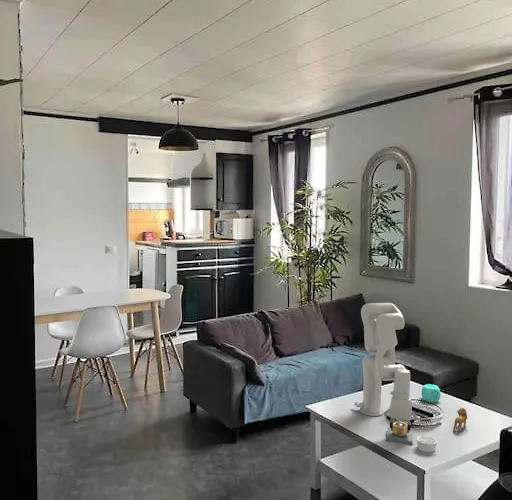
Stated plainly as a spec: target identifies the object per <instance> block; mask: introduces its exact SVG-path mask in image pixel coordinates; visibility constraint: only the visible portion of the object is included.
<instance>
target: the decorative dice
mask: <svg viewBox="0 0 512 500" xmlns="http://www.w3.org/2000/svg"><path fill="white" fill-rule="evenodd" d="M441 396H442V395H441V389H440V388H439V386H438V385H435V384H430V383H428V384H424V385H422V388H421V398H422V399H423V401H425V402H427V401H428V402H427V403H437V402H439V401H440V399H441Z"/></svg>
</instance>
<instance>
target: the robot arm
mask: <svg viewBox="0 0 512 500" xmlns="http://www.w3.org/2000/svg"><path fill="white" fill-rule="evenodd" d="M360 317H361V320H362V323H363V331H364V332H363V333H364V334H363V336H364V337H363V338H364V348H365V350H366V351H367V352H369V353H373V354H366V355H365V356H363V358H362V361H361V362H362V364H361V365H362V370H363V371H362V372H363V384H362V385H363V390H362V392H363V394H362V401H361V402H357V401H355V402H354V406H355V407H356V408H359V412H360V413H361V414H363V415H364V416H369V417H379V416H382V415H383V416H385V418H386V419H387V420H388V423H389V428H391V431H392V428H393V422H394V419H395V420H400V421H406V422H407V424H408V425H407V427H408V431H407V433H409V431H411V426H412V424H414V423H415V422H416V421H417V420H418V418H419V416H418V415H417V414H415V412H414V411H412V409H413V408H412V406H413V405H412V399H411V398H412V397H410V395H411V393H410V391H411V371H410V370H408V369H407V368H406V367H405V366H404V365H403V364H399V363H397V364H396V354H395V352H396V351H395V350H396V349H395V347H396V346H397V345H398V338H397V332H396V330H402V329H404V328H405V324H406V323H405V322H406V321H405V318H404V316H403V314H402V312H401V311H400V309H398V307H396V305H395V304H393V303H392V302H371V303H365V304H363V306H362V307H361V309H360ZM374 353H376V354H374ZM382 381H385V382H387V381H393V390H391V391H390V392H389V393H390V395H392V396H391V398H390V405H389V408H388V409H386V410H385V411H384V409H383V408H382V407H381V406H382V402H381V401H382Z"/></svg>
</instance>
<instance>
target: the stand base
mask: <svg viewBox="0 0 512 500" xmlns="http://www.w3.org/2000/svg"><path fill="white" fill-rule="evenodd" d="M413 436H414V430H410V431H409V433H407V435H405V436H397V435H395V434H394V433H392V431H391V428H390V427H388V428H387V431H386V440H385V441H387V442H392V443H393V442H394V443H400V444H406V445H413V443H414V440H413V439H414V437H413Z"/></svg>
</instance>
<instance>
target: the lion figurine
mask: <svg viewBox="0 0 512 500" xmlns="http://www.w3.org/2000/svg"><path fill="white" fill-rule="evenodd" d="M456 413H457V415H458V417H455V419H454V423H453V430H452V431H453V432H456V433H457V434H458V433H459V431H458V427H459V430H460V432H464V430H463V429H462V428H467V426H466V424H467V419H468V413H467V410H466V408H464V407H460V408H459V409H457V410H456ZM462 426H463V427H462Z"/></svg>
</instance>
